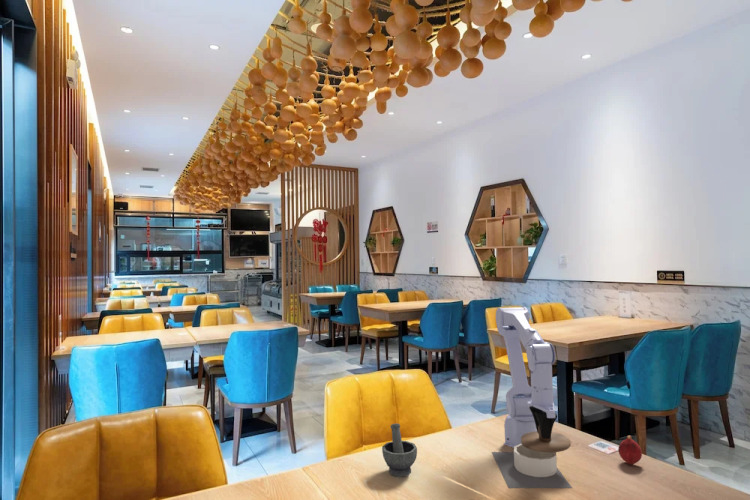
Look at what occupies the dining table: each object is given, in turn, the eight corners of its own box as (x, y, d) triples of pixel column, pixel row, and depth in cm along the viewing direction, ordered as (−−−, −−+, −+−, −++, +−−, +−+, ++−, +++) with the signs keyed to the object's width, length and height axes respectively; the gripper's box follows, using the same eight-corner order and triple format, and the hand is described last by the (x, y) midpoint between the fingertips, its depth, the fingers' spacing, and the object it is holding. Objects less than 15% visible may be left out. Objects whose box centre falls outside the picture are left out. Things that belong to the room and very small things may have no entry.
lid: (511, 442, 127) (510, 427, 127) (539, 430, 135) (538, 415, 135) (551, 456, 116) (550, 439, 117) (580, 442, 124) (578, 426, 124)
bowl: (506, 467, 126) (506, 450, 126) (528, 456, 133) (528, 439, 133) (543, 481, 118) (542, 463, 118) (564, 468, 125) (563, 451, 125)
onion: (645, 470, 123) (644, 440, 124) (623, 468, 124) (621, 439, 125) (638, 461, 129) (636, 432, 129) (616, 459, 130) (614, 431, 130)
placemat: (508, 489, 115) (508, 487, 115) (491, 453, 137) (491, 451, 137) (572, 489, 114) (572, 487, 114) (544, 453, 136) (544, 451, 136)
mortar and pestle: (420, 478, 122) (419, 433, 123) (387, 481, 121) (385, 436, 121) (410, 460, 134) (409, 419, 134) (379, 463, 132) (378, 422, 132)
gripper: (520, 380, 133) (522, 426, 133) (535, 394, 119) (537, 446, 119) (544, 379, 133) (546, 426, 133) (562, 393, 119) (564, 445, 118)
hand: (543, 435), depth 126 cm, fingers closed on lid, 3 cm apart
